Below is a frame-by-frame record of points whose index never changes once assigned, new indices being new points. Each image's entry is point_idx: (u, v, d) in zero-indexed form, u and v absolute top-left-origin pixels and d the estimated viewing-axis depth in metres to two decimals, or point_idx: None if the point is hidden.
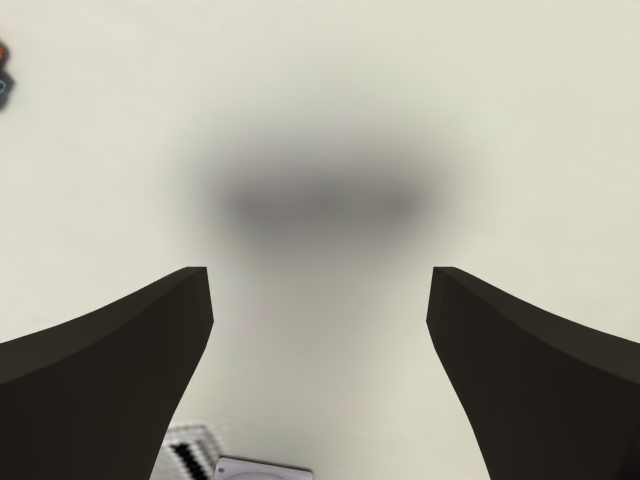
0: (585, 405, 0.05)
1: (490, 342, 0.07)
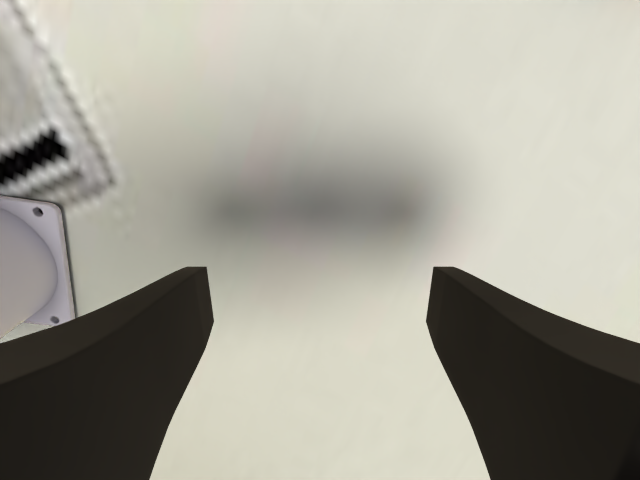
0: (585, 405, 0.05)
1: (490, 342, 0.07)
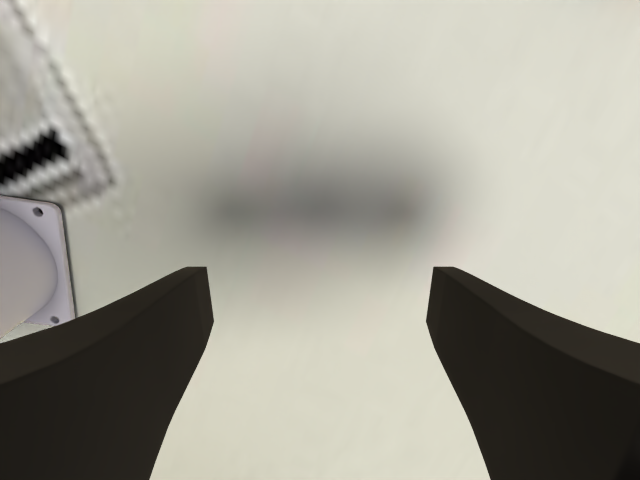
0: (585, 405, 0.05)
1: (490, 342, 0.07)
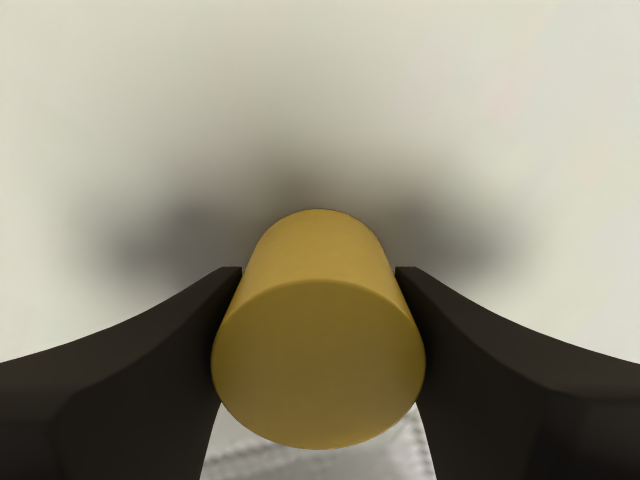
0: (501, 405, 0.05)
1: (437, 342, 0.07)
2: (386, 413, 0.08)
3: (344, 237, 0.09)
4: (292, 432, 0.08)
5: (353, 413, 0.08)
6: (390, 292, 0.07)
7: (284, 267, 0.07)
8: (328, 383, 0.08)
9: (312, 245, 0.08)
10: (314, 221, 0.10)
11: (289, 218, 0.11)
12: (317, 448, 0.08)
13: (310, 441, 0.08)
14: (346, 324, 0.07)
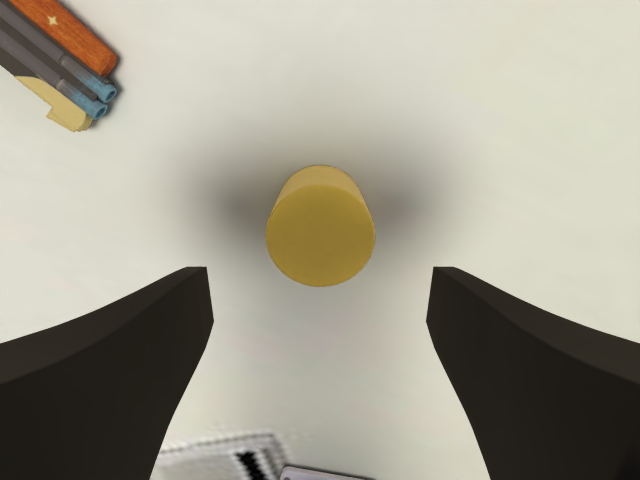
0: (585, 405, 0.05)
1: (490, 341, 0.07)
2: (356, 263, 0.15)
3: (334, 175, 0.17)
4: (306, 275, 0.16)
5: (338, 262, 0.15)
6: (356, 195, 0.15)
7: (303, 183, 0.15)
8: (325, 244, 0.15)
9: (317, 176, 0.16)
10: (318, 169, 0.17)
11: (302, 170, 0.18)
12: (320, 286, 0.16)
13: (316, 281, 0.16)
14: (334, 209, 0.14)
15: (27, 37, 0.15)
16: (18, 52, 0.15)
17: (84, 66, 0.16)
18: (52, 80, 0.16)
